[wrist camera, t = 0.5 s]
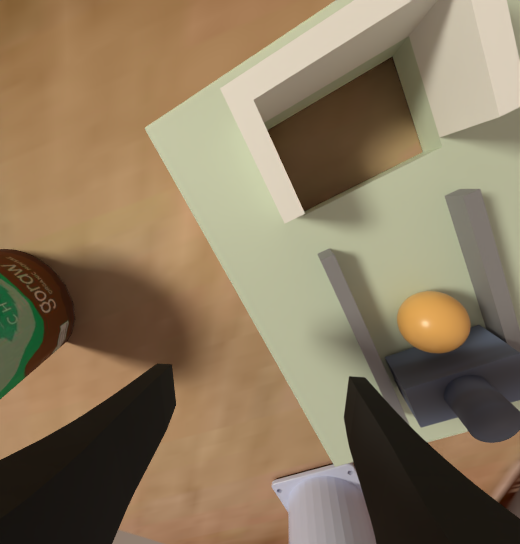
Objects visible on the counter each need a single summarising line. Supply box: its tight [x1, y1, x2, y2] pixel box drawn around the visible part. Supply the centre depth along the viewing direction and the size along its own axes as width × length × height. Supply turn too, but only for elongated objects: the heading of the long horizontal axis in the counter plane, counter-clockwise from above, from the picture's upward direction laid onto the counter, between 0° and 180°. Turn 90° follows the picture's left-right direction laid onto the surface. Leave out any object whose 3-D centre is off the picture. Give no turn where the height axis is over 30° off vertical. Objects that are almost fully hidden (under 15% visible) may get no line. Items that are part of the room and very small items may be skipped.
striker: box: [385, 325, 520, 443], centre depth 15 cm, size 3×6×5 cm, turn 117°
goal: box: [220, 0, 520, 223], centre depth 12 cm, size 6×10×4 cm, turn 117°
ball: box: [397, 291, 471, 353], centre depth 15 cm, size 4×4×4 cm
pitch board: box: [145, 0, 520, 467], centre depth 16 cm, size 28×20×4 cm
